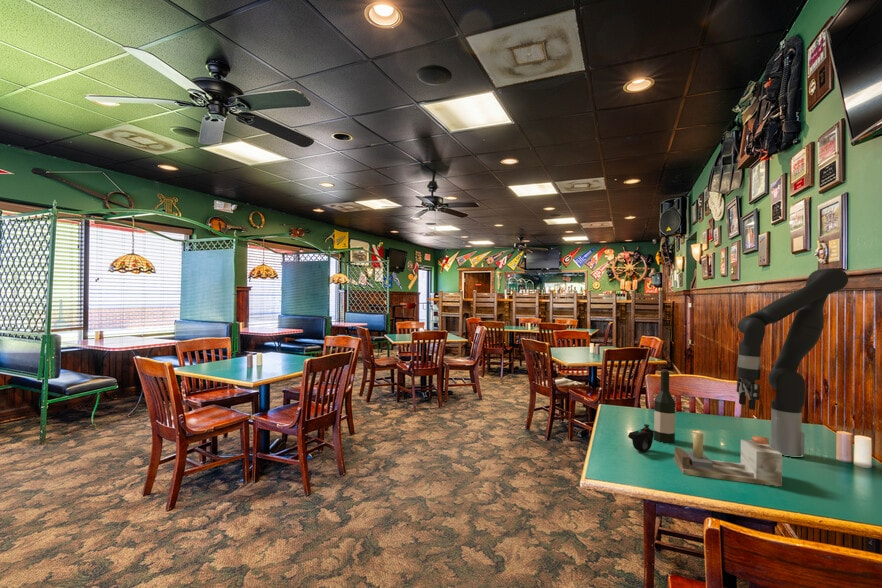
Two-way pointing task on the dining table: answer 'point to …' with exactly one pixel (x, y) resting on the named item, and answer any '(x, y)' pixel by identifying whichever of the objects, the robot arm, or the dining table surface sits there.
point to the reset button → (760, 440)
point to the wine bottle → (664, 412)
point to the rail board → (740, 465)
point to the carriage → (698, 453)
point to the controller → (642, 438)
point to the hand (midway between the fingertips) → (746, 406)
